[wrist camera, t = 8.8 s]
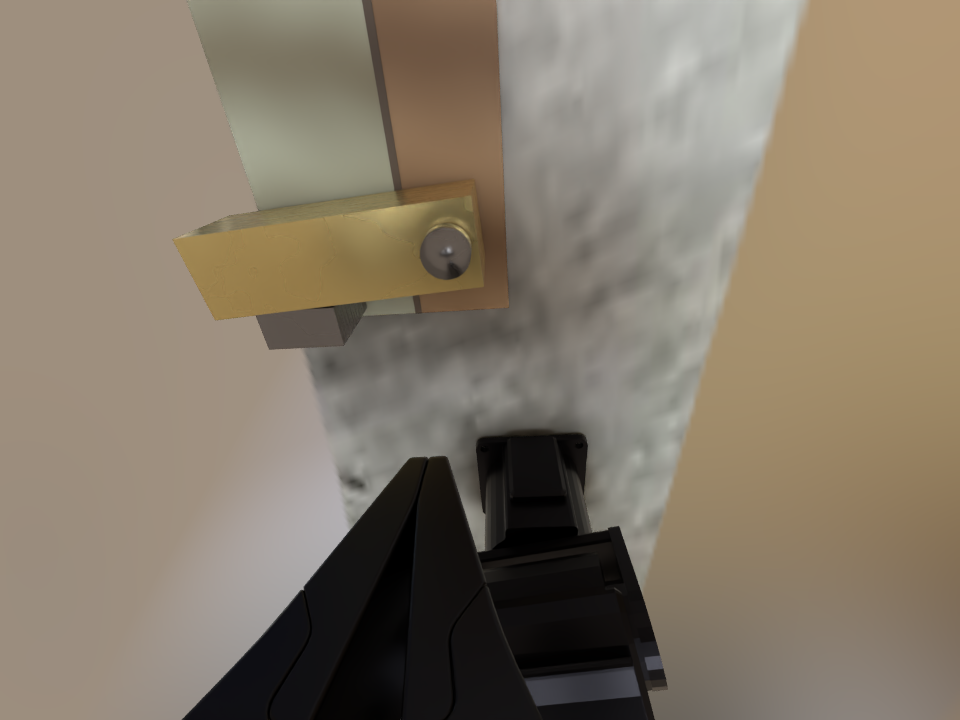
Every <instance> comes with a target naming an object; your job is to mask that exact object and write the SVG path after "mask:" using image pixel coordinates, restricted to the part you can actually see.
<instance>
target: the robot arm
mask: <svg viewBox="0 0 960 720" xmlns="http://www.w3.org/2000/svg"><path fill="white" fill-rule="evenodd" d="M578 442H581V443H580V444H576V443H578ZM482 446H487V447H485V448H484V447H482ZM587 448H588V444H587V440H586V437H585V436H583V435H580V434H574V435H549V436H524V437H499V438H482V439H480V440H478V441H477V444H476V453H477V462H478V471H479V481H480V490H481V499H482V509H483V513H484V514H486V519H485V551H481V552H477V550H476V547H475V543H474V540H473V537H472V534H471V531H470V527H469V524H468V521H467V518H466V514H465V511H464V508H463V505H462V502H461V498H460V495H459V492H458V489H457V486H456V482H455V479H454V476H453V473H452V470H451V466H450V463H449V460H448V458H447V457H446V456H435V457H430V458H429V459H428V458H427V457H412V458H410V459H409V460H408V461H407V462H406V463H405V464H404V466H403V467H402V468H401V469H400V470H399V472H398V473H397V474H396V475H395V476H394V478H393V479H392V480H391V481H390V483H389V484H388V485H387V486H386V487H385V489H384V490H383V491H382V492H381V493H380V495H379V496H378V497H377V498H376V499H375V501H374V502H373V503H372V504H371V506H370V507H369V508H368V509H367V510H366V512H365V513H364V514H363V515H362V516H361V518H360V519H359V520H358V521H357V523H356V524H355V525H354V526H353V527H352V529H351V530H350V531H349V532H348V533H347V535H346V536H345V537H344V538H343V540H342V541H341V542H340V543H339V544H338V546H337V547H336V548H335V549H334V550H333V552H332V553H331V554H330V555H329V557H328V558H327V559H326V560H325V561H324V563H323V564H322V565H321V566H320V567H319V569H318V570H317V571H316V572H315V574H314V575H313V576H312V577H311V578H310V580H309V581H308V582H307V583H306V584H305V586H304V590H300V591H299V593H298V594H297V595H296V596H295V598H294V599H293V600H292V601H291V602H290V604H289V605H288V606H287V607H286V608H285V610H284V611H283V612H282V613H281V614H280V615H279V617H278V618H277V619H276V620H275V621H274V622H273V623H272V625H271V626H270V627H269V628H268V629H267V631H266V632H265V633H264V634H263V635H262V636H261V637H260V638H259V640H258V641H257V642H256V643H255V644H254V645H253V646H252V647H251V648H250V649H249V650H248V651H247V652H246V653H245V654H244V656H243V657H242V658H241V659H240V660H239V661H238V662H237V663H236V664H235V665H234V666H233V667H232V668H231V669H230V670H229V671H228V673H227V674H226V675H225V676H224V677H223V678H222V679H221V680H220V681H219V682H218V683H217V684H216V685H215V686H214V687H213V688H212V689H211V690H210V691H209V692H208V693H207V694H206V695H205V696H204V697H203V698H202V699H201V700H200V702H199V703H197V705H196V706H195V707H194V708H193V709H192V710H191V711H190V712H189V713H188V714H187V715H186V716H185V717H184V718H183V719H182V720H655V719H654V715H653V711H652V707H651V703H650V700H649V696H648V692H647V691H649V690H652V691H660V690H667V689H668V688H667V682H666V677H665V674H664V669H663V666H662V661H661V658H660V654H659V650H658V646H657V643H656V639H655V636H654V632H653V629H652V625H651V622H650V619H649V616H648V612H647V609H646V605H645V602H644V599H643V596H642V593H641V590H640V587H639V584H638V581H637V578H636V575H635V572H634V569H633V566H632V563H631V560H630V557H629V554H628V551H627V548H626V545H625V542H624V539H623V536H622V533H621V530H620V527H619V526H616V527H611V528H608V530H605V531H599V532H593V533H592V529H591V525H590V521H589V517H588V513H587V508H586V504H585V500H584V496H583V495H584V484H585V472H586V460H587Z"/></svg>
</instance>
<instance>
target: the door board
mask: <svg viewBox="0 0 960 720" xmlns="http://www.w3.org/2000/svg"><path fill="white" fill-rule="evenodd" d="M187 3H188V6H189V8H190V11H191V14H192V17H193V20H194V23H195V26H196V29H197V32H198V35H199V38H200V41H201V44H202V46H203V49H204V52H205V55H206V58H207V61H208V64H209V67H210V70H211V73H212V76H213V79H214V82H215V84H216V87H217V90H218V93H219V96H220V99H221V102H222V105H223V108H224V111H225V114H226V117H227V120H228V122H229V125H230V128H231V131H232V134H233V137H234V140H235V143H236V146H237V149H238V152H239V155H240V158H241V161H242V163H243V166H244V169H245V172H246V175H247V178H248V181H249V184H250V187H251V190H252V193H253V196H254V199H255V201H256V204H257V207H258V210H259V211H264V210H270V209H277V208H284V207H290V206H297V205H304V204H310V203H317V202H324V201H330V200H337V199H344V198H350V197H357V196H364V195H370V194H377V193H384V192H390V191H397V190H404V189H410V188H417V187H424V186H430V185H437V184H444V183H450V182H457V181H464V180H470V179H475V185H476V192H477V200H478V207H479V214H480V222H481V229H482V236H483V244H484V251H485V272H484V287H479V288H471V289H463V290H455V291H447V292H439V293H431V294H423V295H415V296H407V297H399V298H391V299H383V300H375V301H367V302H366V305H367V309H366V311H365V312H364V314H363V316H375V315H392V314H409V313H426V312H443V311H461V310H478V309H495V308H509V300H508V276H507V252H506V227H505V203H504V179H503V154H502V130H501V106H500V81H499V57H498V33H497V8H496V0H187Z"/></svg>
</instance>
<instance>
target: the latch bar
mask: <svg viewBox="0 0 960 720" xmlns="http://www.w3.org/2000/svg"><path fill="white" fill-rule="evenodd" d="M173 241H174V243H175V245H176V247H177V249H178V251H179V253H180V254H181V257H182V258H183V260H184V262H185V264H186V266H187V268H188V269H189V272H190V274H191V275H192V277H193V279H194V281H195V283H196V285H197V287H198V289H199V290H200V292H201V294H202V296H203V298H204V300H205V302H206V304H207V306H208V308H209V309H210V311H211V313H212V315H213V317H214V319H215V320H222V319H230V318H238V317H246V316H255V315H263V314H271V313H279V312H287V311H295V310H303V309H311V308H319V307H327V306H335V305H343V304H351V303H359V302H367V301H375V300H383V299H391V298H399V297H407V296H415V295H423V294H431V293H439V292H447V291H455V290H463V289H471V288H479V287H484V272H485V251H484V244H483V236H482V229H481V222H480V214H479V207H478V200H477V192H476V185H475V179H470V180H464V181H457V182H450V183H444V184H437V185H430V186H424V187H417V188H410V189H404V190H397V191H390V192H384V193H377V194H370V195H364V196H357V197H350V198H344V199H337V200H330V201H324V202H317V203H310V204H304V205H297V206H290V207H284V208H277V209H270V210H264V211H257V212H251V213H243V214H237V215H231V216H227V217H225V218H223V219H220V220H218V221H215V222H213V223H211V224H208V225H206V226H203V227H201V228H199V229H196V230H194V231H191V232H189V233H187V234H184V235H182V236H180V237H177V238H175V239H173Z"/></svg>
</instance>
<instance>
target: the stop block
mask: <svg viewBox="0 0 960 720" xmlns="http://www.w3.org/2000/svg"><path fill="white" fill-rule="evenodd" d="M366 309H367V305H366V302H359V303H351V304H343V305H335V306H327V307H319V308H311V309H303V310H295V311H287V312H279V313H271V314H263V315H256V317H257V320H258V323H259V325H260V328H261V330H262V333H263V335H264V338H265V340H266V343H267V345H268V348H269V349H290V348H308V347H327V346H344V345H345V343H346V341H347V340H348V338H349V337H350V335H351V333H352V332H353V330H354V329H355V327H356V325H357V324H358V322H359V320H360V319H361V317H362V316H363V314H364V312H365V311H366Z"/></svg>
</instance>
